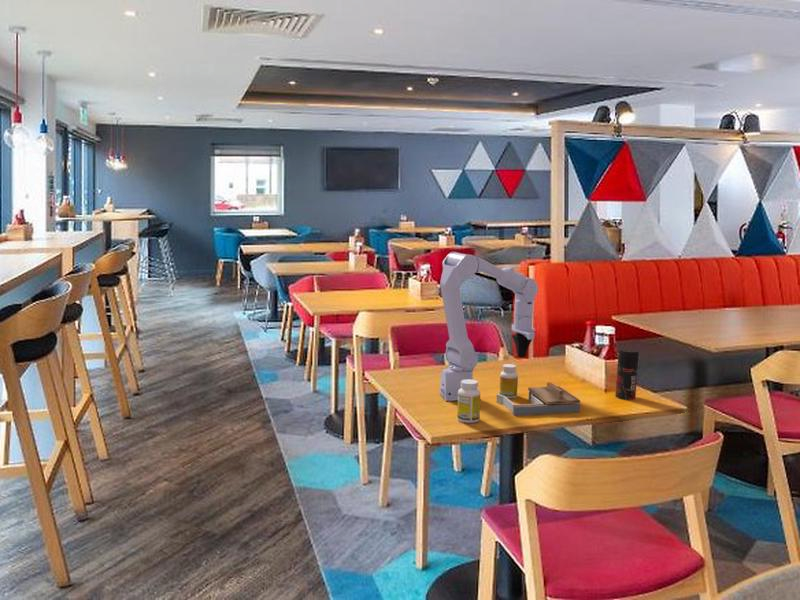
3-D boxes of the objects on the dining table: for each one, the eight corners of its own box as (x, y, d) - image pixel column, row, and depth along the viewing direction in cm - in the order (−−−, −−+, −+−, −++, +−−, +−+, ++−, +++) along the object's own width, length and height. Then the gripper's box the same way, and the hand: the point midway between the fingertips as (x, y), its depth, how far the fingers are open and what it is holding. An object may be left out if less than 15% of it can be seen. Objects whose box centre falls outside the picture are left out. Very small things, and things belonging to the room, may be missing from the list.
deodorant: (621, 393, 227) (624, 346, 225) (638, 397, 223) (642, 350, 220) (611, 396, 223) (615, 349, 220) (629, 401, 219) (633, 353, 216)
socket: (511, 416, 203) (512, 407, 202) (494, 400, 216) (495, 392, 216) (579, 412, 207) (580, 404, 207) (559, 397, 221) (559, 389, 220)
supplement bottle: (516, 399, 218) (518, 368, 217) (498, 398, 219) (500, 367, 218) (517, 394, 224) (518, 364, 222) (500, 393, 225) (501, 362, 223)
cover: (547, 404, 204) (547, 393, 204) (528, 390, 218) (528, 379, 218) (579, 402, 207) (580, 392, 206) (558, 388, 220) (559, 378, 220)
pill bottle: (476, 416, 202) (478, 378, 200) (481, 423, 196) (483, 384, 194) (455, 416, 201) (456, 378, 200) (459, 423, 195) (460, 384, 194)
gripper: (544, 319, 220) (542, 362, 222) (526, 310, 234) (524, 351, 236) (523, 319, 219) (520, 362, 221) (506, 311, 233) (504, 351, 235)
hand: (521, 357), depth 228 cm, fingers closed
